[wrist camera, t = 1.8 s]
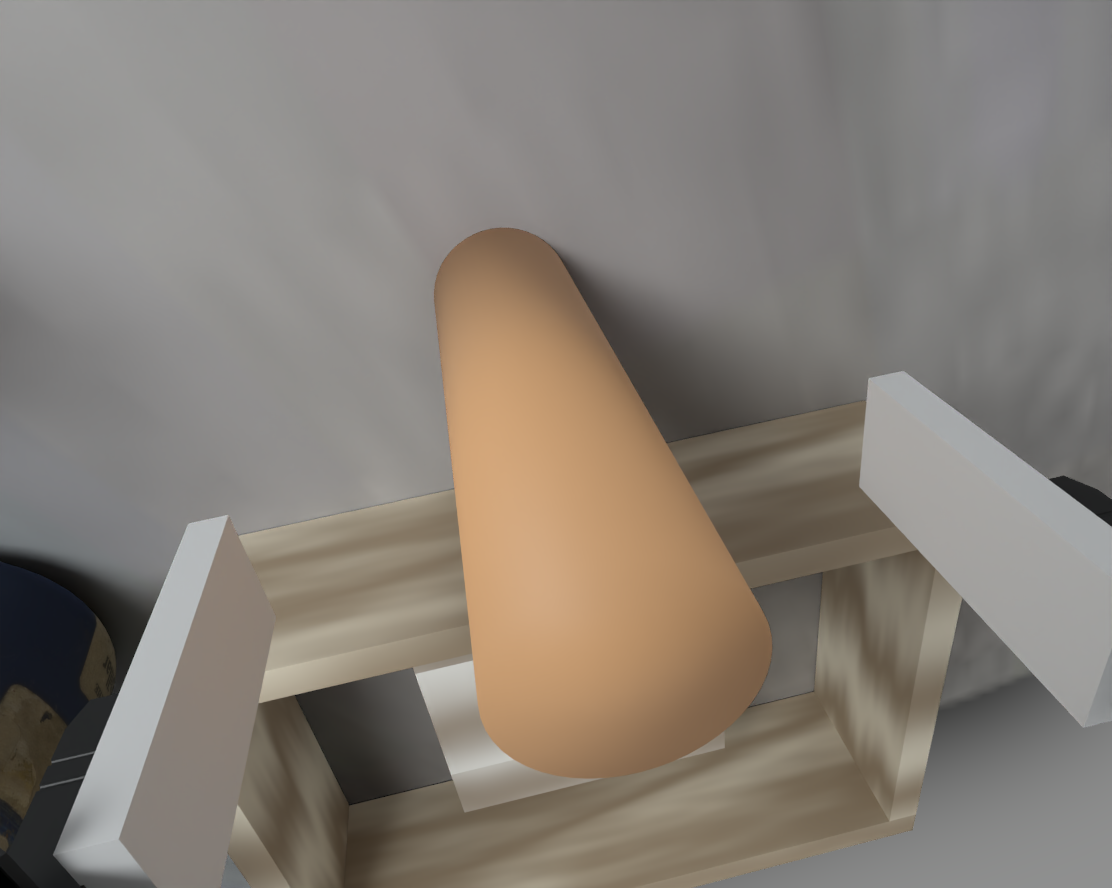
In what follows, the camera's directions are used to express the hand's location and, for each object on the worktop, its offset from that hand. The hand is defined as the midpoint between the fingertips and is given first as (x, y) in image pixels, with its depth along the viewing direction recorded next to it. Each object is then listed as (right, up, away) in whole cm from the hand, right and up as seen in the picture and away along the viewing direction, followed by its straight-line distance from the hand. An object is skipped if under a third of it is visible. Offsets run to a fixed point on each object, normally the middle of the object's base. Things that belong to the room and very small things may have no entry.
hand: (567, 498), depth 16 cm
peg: (-2, +6, +9) cm, 11 cm away
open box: (0, -7, +18) cm, 19 cm away
